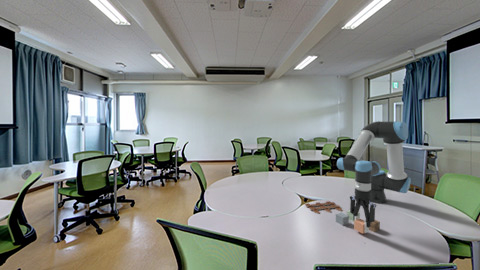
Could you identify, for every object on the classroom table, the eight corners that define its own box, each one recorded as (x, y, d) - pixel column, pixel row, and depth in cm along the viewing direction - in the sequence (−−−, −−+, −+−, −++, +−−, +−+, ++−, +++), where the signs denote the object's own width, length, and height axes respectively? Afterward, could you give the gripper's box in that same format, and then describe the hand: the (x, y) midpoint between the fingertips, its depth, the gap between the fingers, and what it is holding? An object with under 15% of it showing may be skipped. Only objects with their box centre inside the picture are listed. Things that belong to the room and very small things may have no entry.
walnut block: (370, 225, 116) (371, 217, 116) (379, 230, 112) (380, 221, 111) (365, 227, 114) (365, 219, 114) (373, 232, 110) (374, 223, 109)
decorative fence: (303, 205, 146) (314, 214, 131) (303, 203, 146) (314, 212, 131) (330, 202, 150) (344, 211, 136) (330, 200, 150) (344, 209, 135)
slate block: (341, 220, 123) (341, 212, 123) (348, 223, 119) (348, 216, 118) (335, 221, 121) (335, 214, 121) (342, 225, 117) (343, 217, 116)
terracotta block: (360, 226, 112) (360, 218, 112) (368, 231, 108) (369, 222, 107) (354, 229, 110) (354, 220, 110) (362, 233, 106) (363, 224, 105)
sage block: (352, 216, 127) (352, 209, 127) (359, 220, 123) (359, 212, 122) (346, 218, 125) (347, 210, 125) (354, 222, 121) (354, 214, 120)
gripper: (343, 185, 114) (342, 223, 116) (375, 196, 97) (373, 240, 99) (352, 183, 117) (351, 220, 119) (384, 193, 100) (382, 236, 102)
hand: (361, 229), depth 109 cm, fingers closed on terracotta block, 5 cm apart
